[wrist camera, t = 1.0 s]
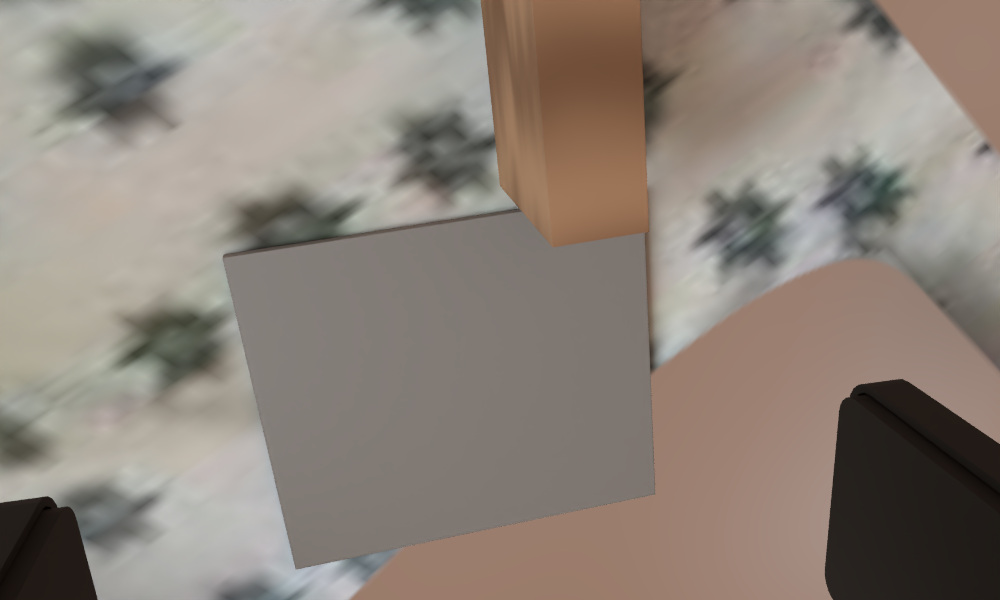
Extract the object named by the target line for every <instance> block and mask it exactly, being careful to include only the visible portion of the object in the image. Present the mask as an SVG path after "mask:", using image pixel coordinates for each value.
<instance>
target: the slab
mask: <svg viewBox="0 0 1000 600" xmlns="http://www.w3.org/2000/svg"><path fill="white" fill-rule="evenodd" d="M481 7H482V17H483V26H484V36H485V46H486V55H487V65H488V74H489V84H490V93H491V103H492V113H493V122H494V132H495V141H496V151H497V161H498V170H499V180H500V186H501V187H502V189H503V190H504V191H505V192H506V193H507V195H508V196H509V197H510V198H511V199H512V200H513V202H514V203H515V204H516V205H517V206H518V207H519V209H520V210H521V211H522V212H523V213H524V214H525V216H526V217H527V218H528V219H529V220H530V221H531V223H532V224H533V225H534V226H535V227H536V229H537V230H538V231H539V232H540V233H541V234H542V236H543V237H544V238H545V239H546V240H547V241H548V243H549V244H550V245H551V246H552V247H559V246H565V245H571V244H577V243H583V242H589V241H595V240H602V239H608V238H614V237H620V236H626V235H632V234H638V233H645V232H649V222H648V196H647V170H646V145H645V119H644V93H643V67H642V42H641V16H640V0H481Z"/></svg>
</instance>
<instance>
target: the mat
mask: <svg viewBox="0 0 1000 600" xmlns="http://www.w3.org/2000/svg"><path fill="white" fill-rule="evenodd" d="M223 262H224V266H225V270H226V274H227V279H228V283H229V287H230V291H231V296H232V300H233V304H234V308H235V313H236V317H237V321H238V325H239V330H240V334H241V338H242V342H243V347H244V351H245V355H246V360H247V364H248V368H249V372H250V377H251V381H252V385H253V389H254V394H255V398H256V402H257V406H258V411H259V415H260V419H261V423H262V428H263V432H264V436H265V440H266V445H267V449H268V453H269V457H270V462H271V466H272V470H273V474H274V479H275V483H276V487H277V491H278V496H279V500H280V504H281V508H282V513H283V517H284V521H285V525H286V530H287V534H288V538H289V542H290V547H291V551H292V555H293V559H294V564H295V568H296V569H301V568H305V567H310V566H315V565H320V564H324V563H329V562H334V561H339V560H344V559H348V558H353V557H358V556H363V555H367V554H372V553H377V552H382V551H387V550H391V549H396V548H401V547H406V546H411V545H415V544H420V543H425V542H430V541H434V540H439V539H444V538H449V537H454V536H458V535H463V534H468V533H473V532H477V531H482V530H486V529H492V528H496V527H501V526H506V525H511V524H516V523H520V522H525V521H530V520H535V519H540V518H544V517H549V516H554V515H559V514H563V513H568V512H573V511H578V510H583V509H587V508H592V507H597V506H601V505H607V504H611V503H616V502H621V501H625V500H630V499H635V498H639V497H645V496H649V495H654V494H655V476H654V454H653V453H654V452H653V427H652V406H651V405H652V403H651V378H650V354H649V329H648V305H647V281H646V256H645V233H638V234H632V235H626V236H620V237H614V238H608V239H602V240H595V241H589V242H583V243H577V244H571V245H565V246H559V247H552V246H551V245H550V244H549V243H548V241H547V240H546V239H545V238H544V237H543V236H542V234H541V233H540V232H539V231H538V230H537V229H536V227H535V226H534V225H533V224H532V223H531V221H530V220H529V219H528V218H527V217H526V216H525V214H524V213H523V212H522V211H521V210H520V209H516V210H509V211H503V212H496V213H490V214H483V215H477V216H471V217H464V218H458V219H451V220H445V221H438V222H432V223H425V224H419V225H413V226H406V227H400V228H393V229H387V230H380V231H374V232H367V233H361V234H355V235H348V236H342V237H335V238H329V239H322V240H316V241H309V242H303V243H297V244H290V245H284V246H277V247H271V248H264V249H258V250H251V251H245V252H239V253H232V254H226V255H224V256H223Z"/></svg>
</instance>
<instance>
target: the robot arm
mask: <svg viewBox="0 0 1000 600" xmlns="http://www.w3.org/2000/svg"><path fill="white" fill-rule="evenodd" d="M825 579H826V584H827V587H828V591H829V593H830V595H831V597H832V598H833V600H1000V444H999V443H997V442H996V441H994V440H993V439H991V438H990V437H988V436H987V435H986V434H984V433H983V432H981V431H980V430H978V429H977V428H975V427H974V426H972V425H971V424H969V423H968V422H966V421H965V420H963V419H962V418H961V417H959V416H958V415H956V414H955V413H953V412H952V411H950V410H949V409H947V408H946V407H944V406H943V405H942V404H940V403H939V402H937V401H936V400H934V399H933V398H931V397H930V396H928V395H927V394H925V393H924V392H923V391H921V390H920V389H918V388H917V387H915V386H914V385H912V384H911V383H909V382H907V381H905V380H903V379H898V380H890V381H883V382H875V383H868V384H861V385H858V386H856V387H855V388H854V389H853V391H852V393H851V395H850V397H848V398H845V399H844V400H843V401H842V403H841V405H840V410H839V421H838V431H837V442H836V454H835V464H834V476H833V487H832V498H831V508H830V519H829V530H828V541H827V552H826V563H825ZM0 600H98V599H97V595H96V592H95V588H94V584H93V580H92V577H91V573H90V569H89V565H88V561H87V558H86V554H85V550H84V546H83V542H82V539H81V535H80V531H79V527H78V523H77V520H76V517H75V514H74V512H73V510H72V509H71V508H70V507H61V508H57V505H56V503H55V502H54V500H53V499H52V498H50V497H48V496H47V497H40V498H32V499H25V500H18V501H11V502H3V503H0Z"/></svg>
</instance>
